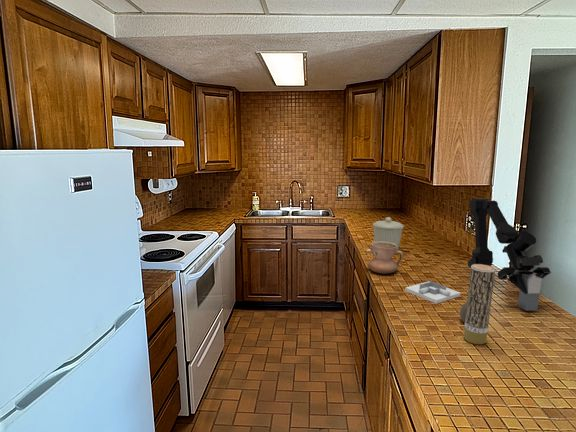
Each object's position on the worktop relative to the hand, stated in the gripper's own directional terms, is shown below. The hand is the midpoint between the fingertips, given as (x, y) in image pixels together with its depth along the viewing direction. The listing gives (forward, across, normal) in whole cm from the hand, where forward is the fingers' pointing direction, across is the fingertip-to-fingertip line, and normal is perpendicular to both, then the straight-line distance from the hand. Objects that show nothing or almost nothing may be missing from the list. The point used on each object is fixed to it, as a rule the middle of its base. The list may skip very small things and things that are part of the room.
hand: (532, 293), depth 146 cm
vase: (+11, -29, 0) cm, 31 cm away
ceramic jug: (-29, -42, +41) cm, 65 cm away
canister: (-55, -28, +67) cm, 91 cm away
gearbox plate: (-9, -30, +20) cm, 37 cm away
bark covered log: (+20, -34, -9) cm, 40 cm away
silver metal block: (+4, 0, +6) cm, 7 cm away
